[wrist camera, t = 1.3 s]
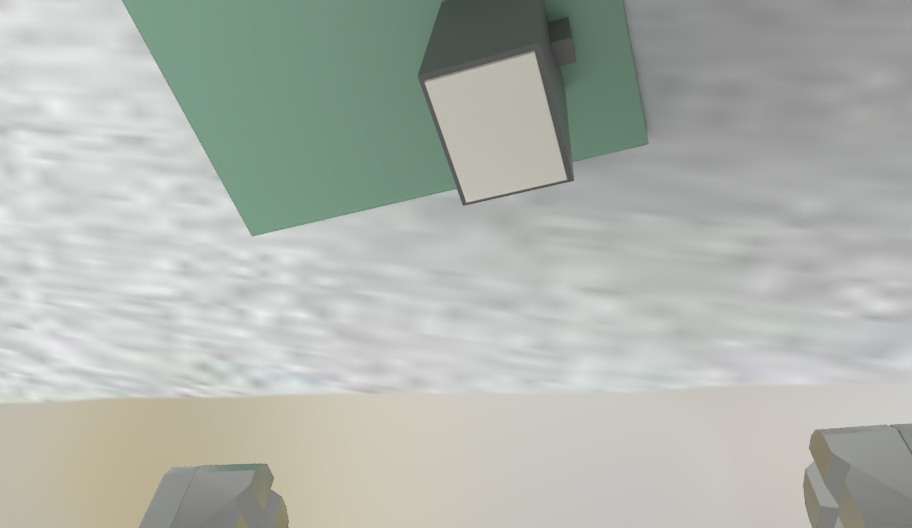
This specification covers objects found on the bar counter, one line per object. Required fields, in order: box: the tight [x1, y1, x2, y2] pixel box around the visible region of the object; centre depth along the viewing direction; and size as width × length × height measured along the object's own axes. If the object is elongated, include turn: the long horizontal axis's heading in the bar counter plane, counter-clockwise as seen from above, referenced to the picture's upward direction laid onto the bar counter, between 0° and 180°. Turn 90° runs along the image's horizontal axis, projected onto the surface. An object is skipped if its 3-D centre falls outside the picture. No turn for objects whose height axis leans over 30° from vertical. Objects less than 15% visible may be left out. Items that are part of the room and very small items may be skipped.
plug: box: [418, 0, 577, 206], centre depth 28 cm, size 5×5×8 cm
